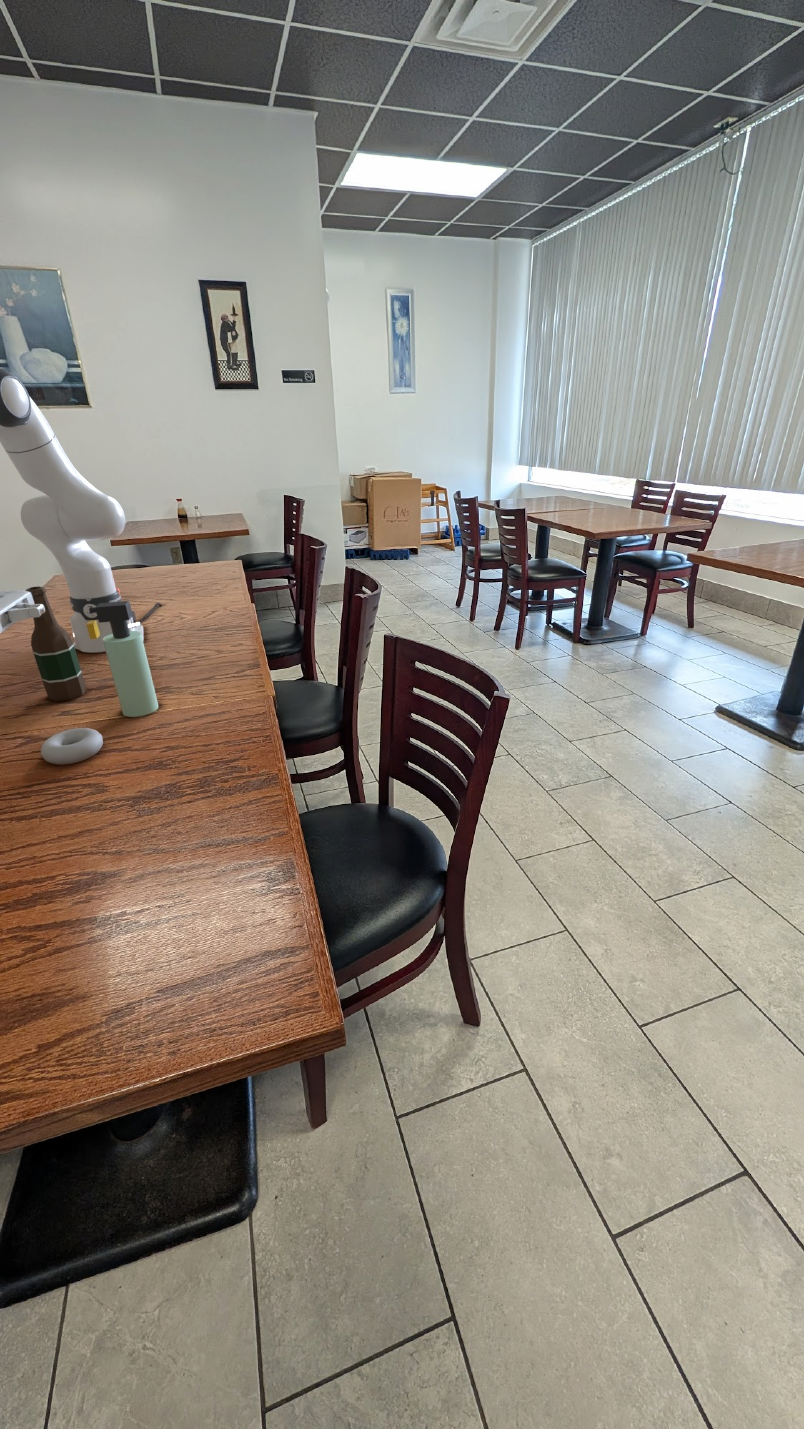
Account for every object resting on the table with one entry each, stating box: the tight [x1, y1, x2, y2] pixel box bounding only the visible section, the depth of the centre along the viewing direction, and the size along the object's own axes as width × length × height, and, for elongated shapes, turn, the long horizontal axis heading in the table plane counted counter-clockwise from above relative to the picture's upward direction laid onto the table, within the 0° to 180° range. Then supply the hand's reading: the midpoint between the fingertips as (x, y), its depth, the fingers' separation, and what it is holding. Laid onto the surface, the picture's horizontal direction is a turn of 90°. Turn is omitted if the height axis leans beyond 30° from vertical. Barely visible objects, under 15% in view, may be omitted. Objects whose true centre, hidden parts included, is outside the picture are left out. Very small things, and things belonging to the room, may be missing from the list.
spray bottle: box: [89, 600, 159, 718], centre depth 117 cm, size 7×8×22 cm
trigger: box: [86, 620, 100, 639], centre depth 113 cm, size 2×1×3 cm, turn 11°
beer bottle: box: [25, 585, 87, 702], centre depth 125 cm, size 8×8×24 cm
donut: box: [40, 727, 104, 766], centre depth 105 cm, size 10×4×10 cm
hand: (42, 610), depth 110 cm, fingers closed
